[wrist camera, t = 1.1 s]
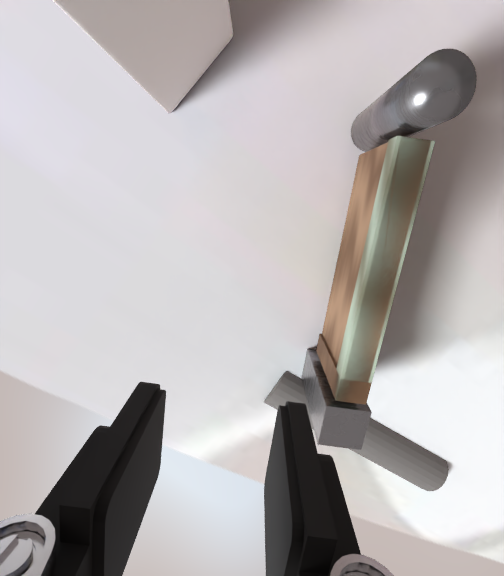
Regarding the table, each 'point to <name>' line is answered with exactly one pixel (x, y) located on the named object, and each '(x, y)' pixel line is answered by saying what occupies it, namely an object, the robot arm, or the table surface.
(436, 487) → the half round rod
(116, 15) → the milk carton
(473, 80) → the gate posts
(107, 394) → the table surface
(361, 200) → the wooden board
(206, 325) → the table surface
